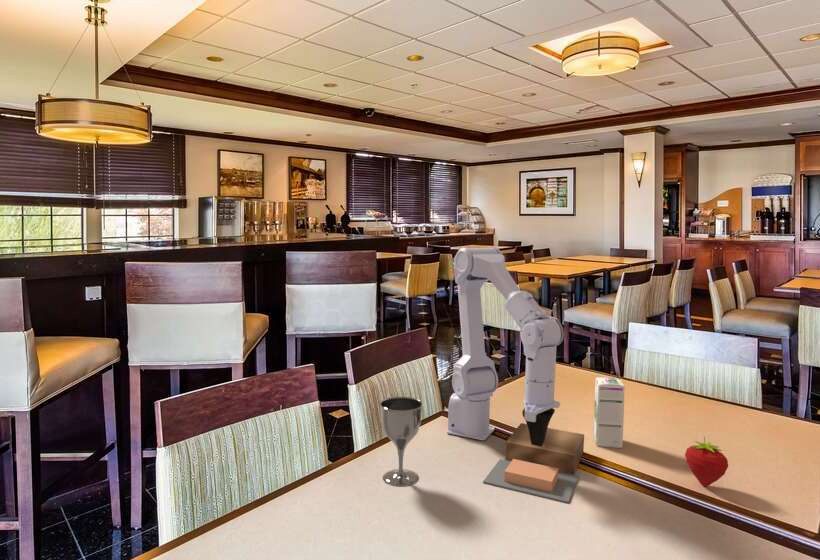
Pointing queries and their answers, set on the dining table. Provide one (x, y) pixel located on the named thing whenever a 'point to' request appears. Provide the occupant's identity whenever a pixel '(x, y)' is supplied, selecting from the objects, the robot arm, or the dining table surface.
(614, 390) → the syrup box
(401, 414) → the wine glass
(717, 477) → the strawberry
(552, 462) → the brown box
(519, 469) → the peach rectangular box
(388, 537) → the dining table surface
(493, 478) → the mat
